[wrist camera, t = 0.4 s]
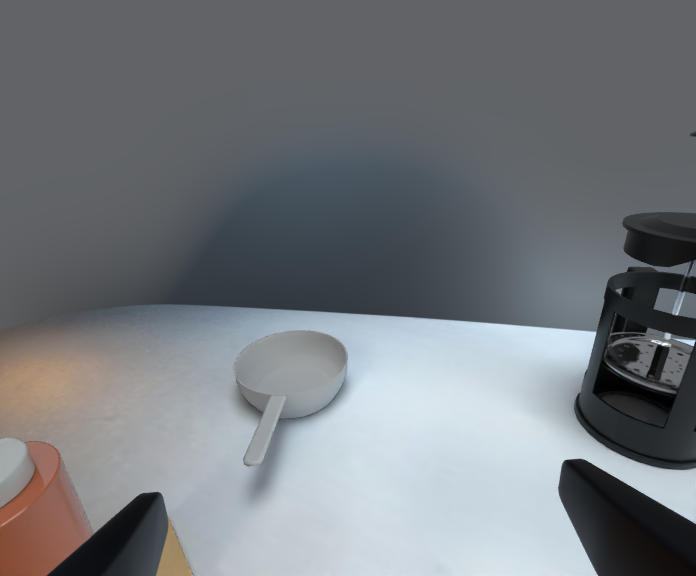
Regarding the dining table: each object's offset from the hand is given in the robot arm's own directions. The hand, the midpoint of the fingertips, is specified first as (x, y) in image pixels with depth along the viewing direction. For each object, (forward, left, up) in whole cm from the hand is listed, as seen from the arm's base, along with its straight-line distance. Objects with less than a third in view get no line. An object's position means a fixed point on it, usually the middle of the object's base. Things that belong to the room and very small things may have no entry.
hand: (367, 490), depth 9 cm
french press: (+20, -24, -17) cm, 35 cm away
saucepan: (+22, +6, -17) cm, 28 cm away
